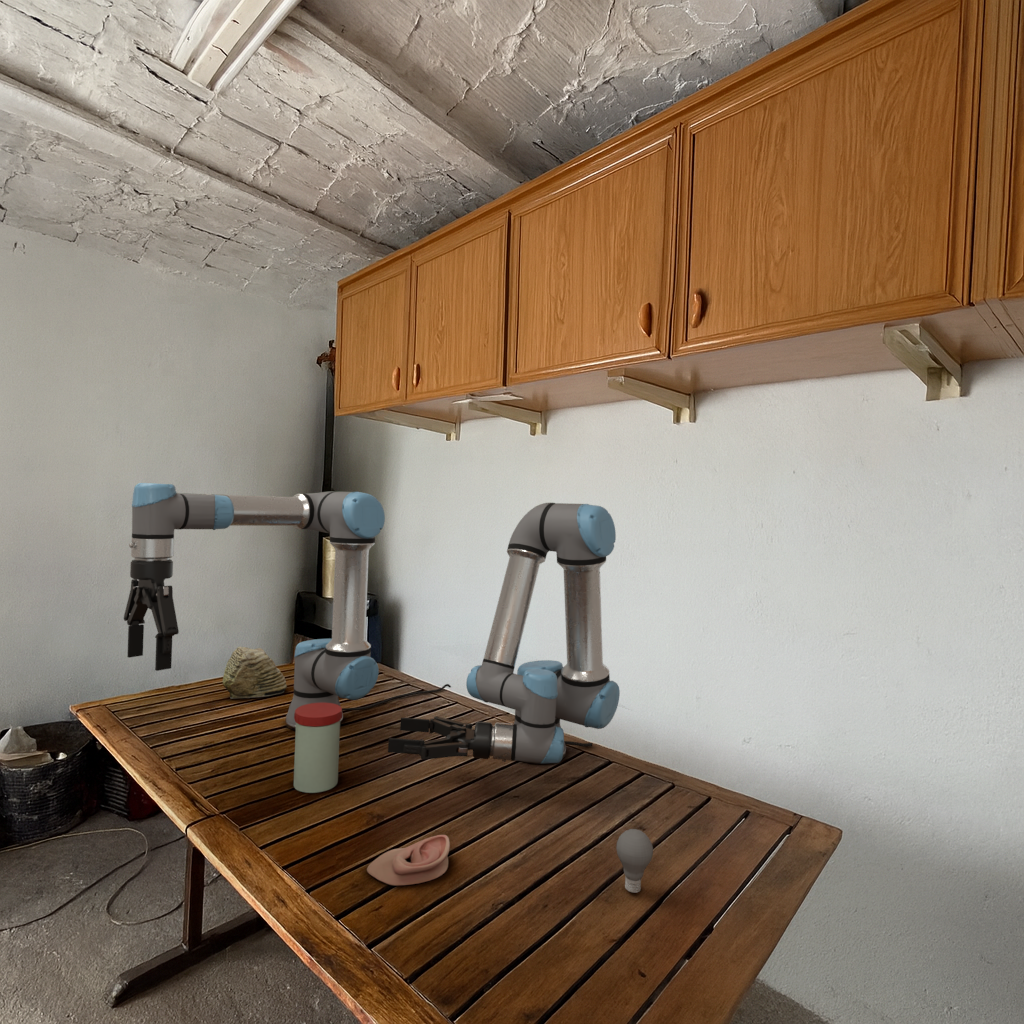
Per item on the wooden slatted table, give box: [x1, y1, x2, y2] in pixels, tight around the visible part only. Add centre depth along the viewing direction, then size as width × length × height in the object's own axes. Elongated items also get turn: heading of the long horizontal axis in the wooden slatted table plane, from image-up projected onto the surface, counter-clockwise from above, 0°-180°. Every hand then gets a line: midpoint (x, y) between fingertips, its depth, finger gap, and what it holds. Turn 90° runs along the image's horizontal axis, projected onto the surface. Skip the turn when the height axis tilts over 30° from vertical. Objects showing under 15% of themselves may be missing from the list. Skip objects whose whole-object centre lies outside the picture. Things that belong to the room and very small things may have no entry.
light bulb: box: [615, 828, 654, 894], centre depth 106 cm, size 6×6×10 cm
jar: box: [293, 721, 341, 794], centre depth 140 cm, size 9×9×16 cm
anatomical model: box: [366, 834, 451, 886], centre depth 109 cm, size 13×4×12 cm
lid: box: [294, 703, 343, 726], centre depth 140 cm, size 10×10×2 cm
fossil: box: [222, 646, 288, 699], centre depth 198 cm, size 9×18×15 cm, turn 132°
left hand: (148, 662), depth 129 cm, fingers open, 13 cm apart
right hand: (394, 734), depth 138 cm, fingers open, 13 cm apart
